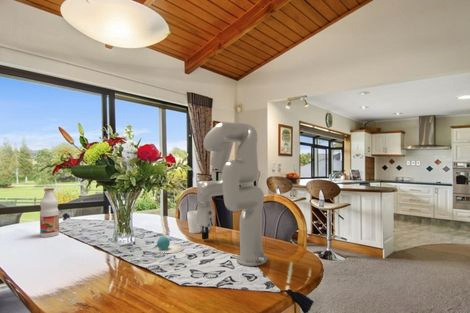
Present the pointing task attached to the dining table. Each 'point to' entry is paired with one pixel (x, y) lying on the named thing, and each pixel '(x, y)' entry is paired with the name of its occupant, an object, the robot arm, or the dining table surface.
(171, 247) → the cream rounded object
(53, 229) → the fruit juice
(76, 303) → the dining table surface
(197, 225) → the cup
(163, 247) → the ball
